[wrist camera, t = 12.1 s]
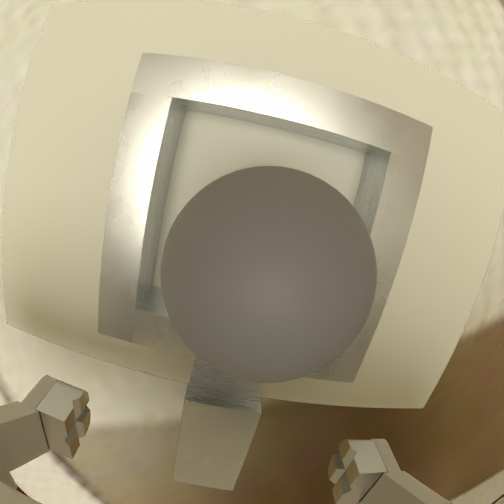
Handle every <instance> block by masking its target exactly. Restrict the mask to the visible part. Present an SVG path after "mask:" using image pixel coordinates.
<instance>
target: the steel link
mask: <svg viewBox="0 0 504 504" xmlns="http://www.w3.org/2000/svg"><path fill="white" fill-rule="evenodd" d="M186 110H189V111H195V112H201V113H206V114H212V115H217V116H222V117H227V118H232V119H237V120H242V121H247V122H251V123H256V124H260V125H265V126H269V127H273V128H277V129H281V130H285V131H289V132H293V133H297V134H301V135H304V136H308V137H312V138H315V139H319V140H322V141H326V142H329V143H332V144H336V145H339V146H342V147H346V148H349V149H352V150H355V151H358V152H361V153H364V154H366V156H365V161H364V165H363V169H362V173H361V178H360V182H359V186H358V190H357V194H356V198H355V202H354V205H353V207H354V208H355V209H356V211H357V212H358V214H359V215H360V217H361V219H362V220H363V222H364V224H365V225H366V227H367V230H368V232H369V234H370V237H371V240H372V243H373V247H374V251H375V256H376V265H377V285H376V291H375V297H374V301H373V304H372V308H371V311H370V314H369V316H368V318H367V321H366V323H365V325H364V326H363V328H362V330H361V331H360V333H359V335H358V336H357V337H356V339H355V340H354V341H353V342H352V344H351V345H350V346H349V347H348V348H347V349H346V350H345V351H344V352H343V353H342V354H341V355H340V356H339V357H338V358H336V359H335V360H334V361H333V362H331V363H330V364H328V365H327V366H325V367H323V368H322V369H320V370H318V371H316V372H314V373H312V374H310V375H307V376H304V377H303V378H311V379H319V380H328V381H338V382H348V383H353V382H354V379H355V377H356V375H357V373H358V371H359V368H360V366H361V364H362V362H363V359H364V357H365V355H366V352H367V350H368V348H369V345H370V343H371V340H372V338H373V335H374V333H375V331H376V328H377V325H378V323H379V320H380V318H381V315H382V312H383V310H384V307H385V304H386V302H387V299H388V296H389V293H390V291H391V288H392V285H393V282H394V279H395V276H396V273H397V270H398V267H399V264H400V261H401V258H402V254H403V251H404V248H405V245H406V241H407V238H408V234H409V231H410V227H411V224H412V220H413V216H414V213H415V209H416V205H417V201H418V197H419V193H420V189H421V185H422V180H423V176H424V171H425V167H426V162H427V157H428V152H429V147H430V142H431V136H432V130H433V127H432V126H430V125H427V124H425V123H423V122H421V121H418V120H416V119H414V118H412V117H409V116H407V115H404V114H402V113H400V112H397V111H395V110H392V109H390V108H387V107H385V106H382V105H379V104H377V103H374V102H371V101H369V100H366V99H363V98H360V97H357V96H354V95H351V94H348V93H345V92H342V91H339V90H336V89H333V88H330V87H327V86H323V85H320V84H316V83H313V82H309V81H306V80H302V79H298V78H295V77H291V76H287V75H283V74H279V73H275V72H270V71H266V70H261V69H257V68H252V67H247V66H242V65H237V64H231V63H225V62H220V61H213V60H207V59H200V58H193V57H185V56H176V55H166V54H155V53H142V56H141V59H140V62H139V65H138V69H137V72H136V75H135V79H134V82H133V86H132V90H131V93H130V97H129V101H128V105H127V109H126V113H125V117H124V121H123V126H122V130H121V135H120V139H119V144H118V149H117V154H116V159H115V164H114V170H113V175H112V181H111V187H110V193H109V200H108V207H107V214H106V222H105V230H104V239H103V249H102V259H101V272H100V287H99V307H98V333H100V334H103V335H107V336H110V337H113V338H117V339H120V340H124V341H127V342H131V343H134V344H138V345H142V346H146V347H149V348H153V349H157V350H161V351H165V352H169V353H173V354H178V355H182V356H186V357H191V358H195V360H194V364H193V368H192V372H191V376H190V380H189V384H188V388H187V392H186V396H185V401H184V407H183V413H182V420H181V427H180V433H179V440H178V447H177V454H176V461H175V469H174V476H173V481H178V482H183V483H188V484H193V485H198V486H204V487H210V488H216V489H223V490H231V491H233V488H234V486H235V483H236V481H237V478H238V476H239V473H240V471H241V468H242V466H243V463H244V460H245V458H246V455H247V453H248V450H249V447H250V445H251V442H252V439H253V437H254V434H255V431H256V428H257V426H258V423H259V420H260V417H261V414H262V409H261V393H260V382H254V381H248V380H244V379H239V378H236V377H233V376H231V375H228V374H226V373H223V372H221V371H219V370H217V369H215V368H213V367H212V366H210V365H209V364H207V363H206V362H204V361H203V360H202V359H201V358H199V357H198V356H197V355H196V354H195V353H194V352H193V351H192V350H191V349H190V348H189V347H188V346H187V345H186V344H185V342H184V341H183V340H182V338H181V337H180V336H179V334H178V333H177V331H176V330H175V328H174V326H173V324H172V322H171V320H170V318H169V316H168V313H167V310H166V307H165V304H164V300H163V295H162V290H161V288H160V287H156V286H153V279H154V272H155V265H156V258H157V251H158V245H159V239H160V233H161V227H162V221H163V215H164V209H165V204H166V199H167V193H168V188H169V183H170V178H171V173H172V168H173V164H174V159H175V154H176V150H177V145H178V141H179V137H180V132H181V128H182V124H183V120H184V116H185V112H186Z"/></svg>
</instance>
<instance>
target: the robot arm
mask: <svg viewBox="0 0 504 504" xmlns="http://www.w3.org/2000/svg"><path fill="white" fill-rule="evenodd" d="M88 402H89V395H88V392H87V391H85V390H82V389H79V388H77V387H74V386H72V385H70V384H67V383H65V382H62V381H59V380H57V379H55V378H52V377H50V376H48V375H46V376H44V377H42V379H41V380H40V381H39V382H38V383H37V384H36V386H35V387H34V388H33V389H32V390H31V391H30V393H29V394H28V395H27V396H26V397H25V399H24V400H23V401H22V402H21V403H20V402H18V401H16V402H13V403H10V404H6V405H3V406H0V504H42V503H39V502H37V501H35V500H34V499H32V498H30V497H28V496H26V495H24V494H22V493H20V492H18V491H17V490H16V489H17V486H16V483H15V481H14V479H13V478H12V476H11V474H10V471H12V470H14V469H16V468H18V467H20V466H22V465H24V464H26V463H27V462H29V461H31V460H33V459H35V458H37V457H39V456H41V455H42V454H44V453H46V452H48V451H49V450H51V451H54V452H56V453H59V454H61V455H64V456H66V457H69V458H71V459H73V457H74V455H75V453H76V451H77V449H78V448H79V446H80V443H79V438H81V437H83V436H85V434H86V432H87V430H88V427H89V424H90V410H89V408H88V407H87V403H88ZM338 448H339V452H337V453H335V454H334V455H333V456H332V458H331V460H330V461H329V466H328V476H329V480H330V481H331V482H333V483H334V484H335V485H334V487H333V488H332V493H333V497H334V501H335V504H358V503H359V504H451V502H449V501H448V500H446V499H445V498H443V497H442V496H440V495H439V494H437V493H436V492H434V491H433V490H431V489H430V488H428V487H427V486H425V485H424V484H422V483H421V482H420V481H418V480H417V479H415V478H414V477H412V476H411V475H410V474H408V473H407V472H405V471H401V470H400V468H399V466H398V464H397V461H396V459H395V457H394V455H393V453H392V451H391V449H390V446H389V444H388V442H387V441H386V440H385V439H344V440H343V441H341V443H340V444H339V446H338ZM494 504H504V496H503V497H502V498H501V499H499V500H498V501H497V502H496V503H494Z"/></svg>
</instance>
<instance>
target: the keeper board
mask: <svg viewBox="0 0 504 504" xmlns="http://www.w3.org/2000/svg"><path fill="white" fill-rule="evenodd" d="M142 53H155V54H166V55H176V56H185V57H193V58H200V59H207V60H213V61H220V62H225V63H231V64H237V65H242V66H247V67H252V68H257V69H261V70H266V71H270V72H275V73H279V74H283V75H287V76H291V77H295V78H298V79H302V80H306V81H309V82H313V83H316V84H320V85H323V86H327V87H330V88H333V89H336V90H339V91H342V92H345V93H348V94H351V95H354V96H357V97H360V98H363V99H366V100H369V101H371V102H374V103H377V104H379V105H382V106H385V107H387V108H390V109H392V110H395V111H397V112H400V113H402V114H404V115H407V116H409V117H412V118H414V119H416V120H418V121H421V122H423V123H425V124H427V125H430V126H432V127H433V130H432V136H431V142H430V147H429V152H428V157H427V162H426V167H425V171H424V176H423V180H422V185H421V189H420V193H419V197H418V201H417V205H416V209H415V213H414V216H413V220H412V224H411V227H410V231H409V234H408V238H407V241H406V245H405V248H404V251H403V254H402V258H401V261H400V264H399V267H398V270H397V273H396V276H395V279H394V282H393V285H392V288H391V291H390V293H389V296H388V299H387V302H386V304H385V307H384V310H383V312H382V315H381V318H380V320H379V323H378V325H377V328H376V331H375V333H374V335H373V338H372V340H371V343H370V345H369V348H368V350H367V352H366V355H365V357H364V359H363V362H362V364H361V366H360V368H359V371H358V373H357V375H356V377H355V379H354V382H353V383H348V382H338V381H328V380H319V379H311V378H303V377H304V376H307V375H310V374H312V373H314V372H316V371H318V370H320V369H322V368H323V367H325V366H327V365H328V364H330V363H331V362H333V361H334V360H335V359H336V358H338V357H339V356H340V355H341V354H342V353H343V352H344V351H345V350H346V349H347V348H348V347H349V346H350V345H351V344H352V342H353V341H354V340H355V339H356V337H357V336H358V335H359V333H360V331H361V330H362V328H363V326H364V325H365V323H366V321H367V318H368V316H369V314H370V311H371V308H372V304H373V301H374V297H375V291H376V285H377V265H376V256H375V251H374V247H373V243H372V240H371V237H370V234H369V232H368V230H367V227H366V225H365V224H364V222H363V220H362V219H361V217H360V215H359V214H358V212H357V211H356V209H355V208H354V207H353V205H354V202H355V198H356V194H357V190H358V186H359V182H360V178H361V173H362V169H363V165H364V161H365V156H366V154H364V153H361V152H358V151H355V150H352V149H349V148H346V147H342V146H339V145H336V144H332V143H329V142H326V141H322V140H319V139H315V138H312V137H308V136H304V135H301V134H297V133H293V132H289V131H285V130H281V129H277V128H273V127H269V126H265V125H260V124H256V123H251V122H247V121H242V120H237V119H232V118H227V117H222V116H217V115H212V114H206V113H201V112H195V111H189V110H186V112H185V116H184V120H183V124H182V128H181V132H180V137H179V141H178V145H177V150H176V154H175V159H174V164H173V168H172V173H171V178H170V183H169V188H168V193H167V199H166V204H165V209H164V215H163V221H162V227H161V233H160V239H159V245H158V251H157V258H156V265H155V272H154V279H153V286H156V287H160V288H161V290H162V295H163V300H164V304H165V307H166V310H167V313H168V316H169V318H170V320H171V322H172V324H173V326H174V328H175V330H176V331H177V333H178V334H179V336H180V337H181V338H182V340H183V341H184V342H185V344H186V345H187V346H188V347H189V348H190V349H191V350H192V351H193V352H194V353H195V354H196V355H197V356H198V357H199V358H201V359H202V360H203V361H204V362H206V363H207V364H209V365H210V366H212V367H213V368H215V369H217V370H219V371H221V372H223V373H226V374H228V375H231V376H233V377H236V378H239V379H244V380H248V381H254V382H260V393H261V397H264V398H271V399H278V400H286V401H294V402H303V403H312V404H323V405H335V406H349V407H368V408H423V407H424V406H425V404H426V402H427V401H428V399H429V397H430V395H431V394H432V392H433V390H434V388H435V387H436V385H437V383H438V381H439V379H440V377H441V375H442V374H443V372H444V370H445V368H446V366H447V364H448V362H449V360H450V358H451V356H452V354H453V352H454V350H455V347H456V345H457V343H458V341H459V339H460V337H461V334H462V332H463V330H464V328H465V325H466V323H467V321H468V318H469V316H470V313H471V311H472V308H473V306H474V303H475V301H476V298H477V296H478V293H479V290H480V287H481V285H482V282H483V279H484V276H485V273H486V270H487V267H488V264H489V261H490V258H491V255H492V251H493V248H494V244H495V241H496V237H497V234H498V230H499V226H500V222H501V218H502V214H503V210H504V112H503V111H502V110H501V109H499V108H498V107H496V106H495V105H493V104H492V103H490V102H489V101H487V100H485V99H484V98H482V97H481V96H479V95H477V94H476V93H474V92H473V91H471V90H469V89H468V88H466V87H464V86H462V85H461V84H459V83H457V82H455V81H454V80H452V79H450V78H448V77H446V76H445V75H443V74H441V73H439V72H437V71H435V70H433V69H431V68H429V67H427V66H425V65H423V64H421V63H419V62H417V61H415V60H413V59H410V58H408V57H406V56H404V55H402V54H399V53H397V52H395V51H392V50H390V49H388V48H385V47H383V46H380V45H378V44H375V43H373V42H370V41H367V40H365V39H362V38H359V37H357V36H354V35H351V34H348V33H345V32H342V31H339V30H336V29H333V28H330V27H326V26H323V25H320V24H316V23H313V22H309V21H305V20H302V19H298V18H294V17H290V16H286V15H281V14H277V13H272V12H268V11H263V10H258V9H252V8H247V7H241V6H234V5H228V4H220V3H212V2H203V1H193V0H86V1H76V2H67V3H60V4H53V5H52V6H51V9H50V11H49V13H48V16H47V18H46V21H45V23H44V26H43V28H42V31H41V34H40V36H39V39H38V42H37V45H36V47H35V50H34V53H33V56H32V59H31V62H30V66H29V69H28V72H27V76H26V79H25V83H24V86H23V90H22V94H21V98H20V102H19V106H18V111H17V115H16V120H15V125H14V130H13V135H12V141H11V147H10V153H9V160H8V168H7V176H6V186H5V197H4V211H3V240H2V256H3V284H4V299H5V310H6V320H7V324H8V325H11V326H13V327H15V328H17V329H20V330H22V331H24V332H27V333H29V334H32V335H34V336H37V337H39V338H42V339H44V340H47V341H49V342H52V343H54V344H57V345H60V346H62V347H65V348H68V349H71V350H73V351H76V352H79V353H82V354H85V355H88V356H91V357H94V358H97V359H100V360H103V361H106V362H110V363H113V364H116V365H119V366H123V367H126V368H130V369H133V370H137V371H140V372H144V373H148V374H152V375H155V376H159V377H163V378H167V379H171V380H175V381H180V382H184V383H188V384H189V380H190V376H191V372H192V368H193V364H194V360H195V358H191V357H186V356H182V355H178V354H173V353H169V352H165V351H161V350H157V349H153V348H149V347H146V346H142V345H138V344H134V343H131V342H127V341H124V340H120V339H117V338H113V337H110V336H107V335H103V334H100V333H98V307H99V287H100V272H101V259H102V249H103V239H104V230H105V222H106V214H107V207H108V200H109V193H110V187H111V181H112V175H113V170H114V164H115V159H116V154H117V149H118V144H119V139H120V135H121V130H122V126H123V121H124V117H125V113H126V109H127V105H128V101H129V97H130V93H131V90H132V86H133V82H134V79H135V75H136V72H137V69H138V65H139V62H140V59H141V56H142Z"/></svg>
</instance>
